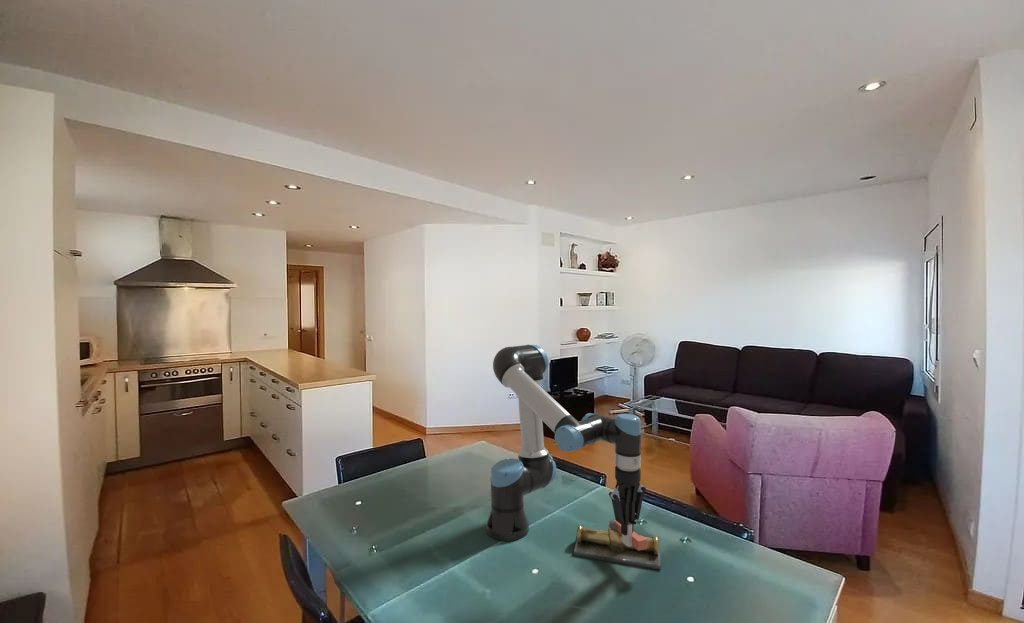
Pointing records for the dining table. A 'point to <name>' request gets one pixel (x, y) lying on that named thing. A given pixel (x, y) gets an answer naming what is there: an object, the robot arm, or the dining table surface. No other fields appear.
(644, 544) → the lever
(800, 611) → the dining table surface
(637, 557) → the valve base
